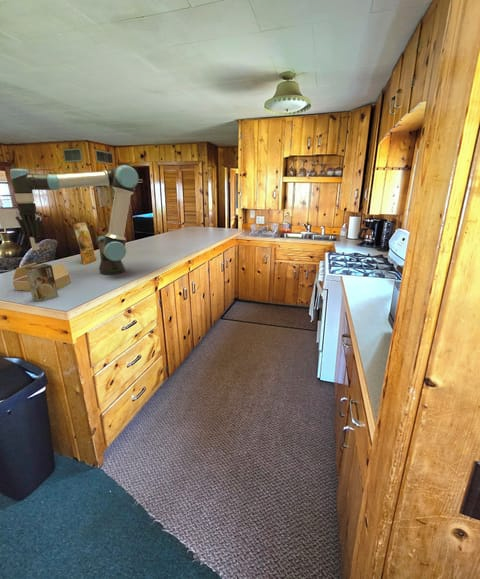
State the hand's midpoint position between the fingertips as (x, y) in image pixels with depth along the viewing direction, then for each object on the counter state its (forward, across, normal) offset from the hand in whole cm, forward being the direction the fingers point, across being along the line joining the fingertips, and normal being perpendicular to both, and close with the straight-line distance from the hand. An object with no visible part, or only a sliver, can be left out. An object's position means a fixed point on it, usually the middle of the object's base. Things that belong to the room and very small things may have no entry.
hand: (36, 249), depth 153 cm
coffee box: (+21, -13, +16) cm, 29 cm away
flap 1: (+15, +11, 0) cm, 19 cm away
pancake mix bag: (+21, +9, -56) cm, 60 cm away
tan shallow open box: (+20, 0, 0) cm, 20 cm away
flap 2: (+15, -11, 0) cm, 19 cm away
